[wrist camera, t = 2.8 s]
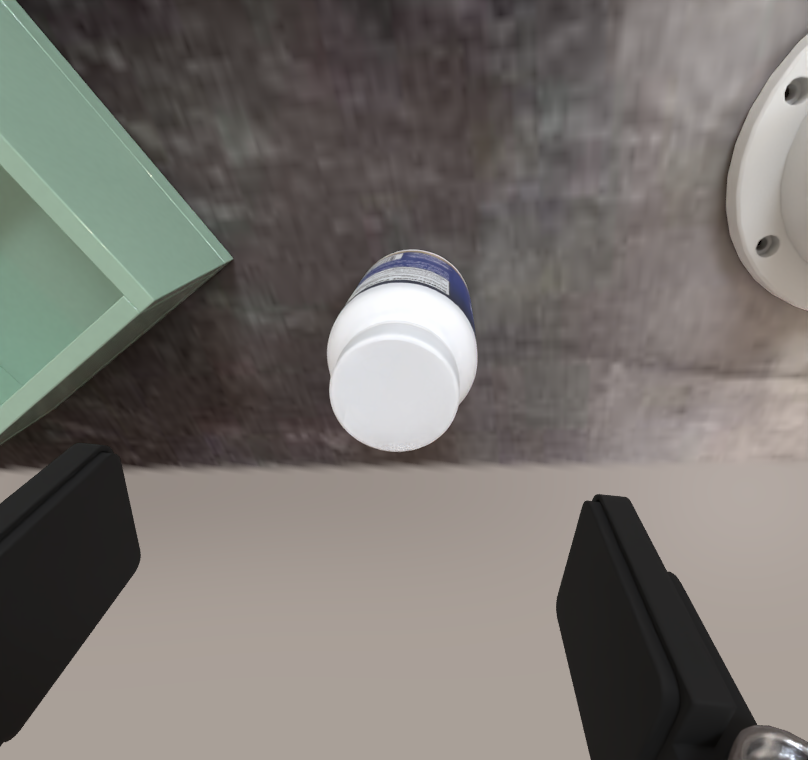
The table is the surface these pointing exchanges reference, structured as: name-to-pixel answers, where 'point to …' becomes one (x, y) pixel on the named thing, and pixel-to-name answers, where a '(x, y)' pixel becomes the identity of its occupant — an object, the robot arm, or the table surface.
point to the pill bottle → (403, 352)
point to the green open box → (78, 231)
